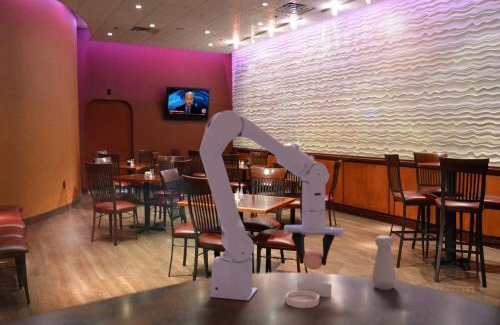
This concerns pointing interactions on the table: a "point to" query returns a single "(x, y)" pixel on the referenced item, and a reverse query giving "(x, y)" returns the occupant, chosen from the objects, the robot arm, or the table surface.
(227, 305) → the table surface
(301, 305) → the coaster
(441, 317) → the table surface
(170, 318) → the table surface
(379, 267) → the salt shaker
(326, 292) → the wall
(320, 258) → the ball
